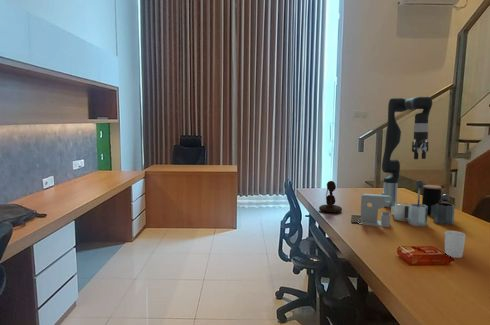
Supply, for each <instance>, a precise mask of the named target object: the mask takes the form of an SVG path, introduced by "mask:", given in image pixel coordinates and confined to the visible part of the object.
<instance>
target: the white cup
mask: <svg viewBox="0 0 490 325" xmlns="http://www.w3.org/2000/svg"><path fill="white" fill-rule="evenodd" d="M466 236H467V235H466V233H464V232H462V231H456V230H446V231H444V254H445V253H446V254H447V255H449V256H448V257H450V256H451V258H454V259H456V258H457V259H461V258H463V256H464V250H465V249H464V248H465V242H466ZM447 255H446V256H447Z"/></svg>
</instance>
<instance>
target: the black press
mask: <svg viewBox="0 0 490 325" xmlns="http://www.w3.org/2000/svg"><path fill="white" fill-rule="evenodd" d="M450 200H451V198H450V195H449V194H447V193H444V194H441V201H442V202H441V203H436V204H435V205H431V215H430V217H432V218H433V219H434V220H433V221H434V223H436V224H438V225H441V226H442V225H443V226H452V225H454V220H455V206H456V204H455V205H454V204H452V203H448V202H449V201H450Z"/></svg>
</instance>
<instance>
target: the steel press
mask: <svg viewBox="0 0 490 325" xmlns="http://www.w3.org/2000/svg"><path fill="white" fill-rule="evenodd" d="M415 206H417V203H410V204H408V206H405V216H404V218H408V220H407V224H409V225H410V226H414V227H426V226H427V225H428V215H427V214H428V206H426V205H423V204H422V203H419V206H421V207H415Z"/></svg>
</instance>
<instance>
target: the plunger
mask: <svg viewBox="0 0 490 325" xmlns="http://www.w3.org/2000/svg"><path fill="white" fill-rule="evenodd" d="M414 184H415V187H416V188H418V190H417V191H418V193H417V203H416V204H417V206H415V207H421V206H419V204H420V203H421V202H420V200H421V189H422V188H424V187H423V186H424V185H425V183H424V181H423V180H421V179H420V180H419V179H418V180H417V181H415V183H414Z"/></svg>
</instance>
